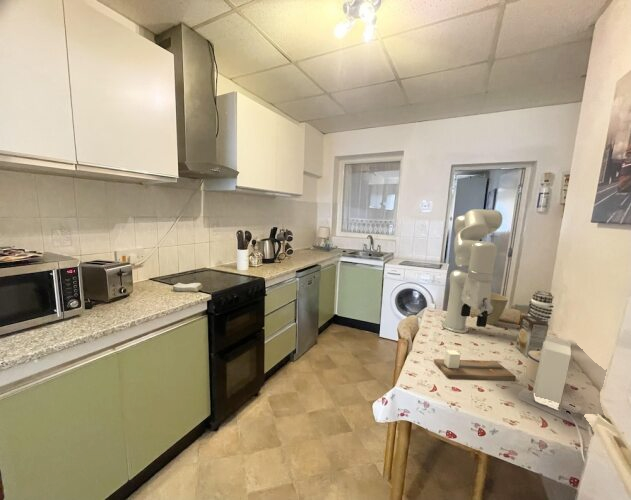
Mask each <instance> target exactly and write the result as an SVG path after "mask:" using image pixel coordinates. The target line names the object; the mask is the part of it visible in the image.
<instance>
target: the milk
mask: <svg viewBox="0 0 631 500" xmlns="http://www.w3.org/2000/svg"><path fill="white" fill-rule="evenodd" d="M571 346H572V342H571V341H569V340H565V339H561V338H556V337H553V336H548V335H546V339H545V341H544V342H543V347H542V352H541V356H540V361H539V366H538V371H537V376H536V381H535V382H534V387H533V392H534V393H535V396H536V397H540V398H544V399H548V400H551V401H554V402H557V403H559V404H560V405H561V401H562V397H563V392H564V388H565V383H566V379H567V375H568V371H569V370H568V369H569V365H570V361H571V356H572V351H571ZM533 392H532V393H533Z"/></svg>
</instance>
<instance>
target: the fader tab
mask: <svg viewBox="0 0 631 500" xmlns="http://www.w3.org/2000/svg"><path fill="white" fill-rule="evenodd" d="M444 359H445V360H444V364H445V365H446V366H447V367H448V368H459V362H460V360H461V354H460V352H458V350H456V349H455V350H453V349H452V350H451V349H446V350H445V353H444Z"/></svg>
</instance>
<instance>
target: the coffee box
mask: <svg viewBox="0 0 631 500" xmlns="http://www.w3.org/2000/svg"><path fill="white" fill-rule="evenodd" d="M519 322H520V323H519V328H518V332H517V337H516V342H515V349H517V350H518V351H519V352H520V353H521V354H522V355H523V356H524V357H525V358H528V352H529V351H541V350H542V347H543V342H544V341H545V339H546V336H548V335H547V334H548V331H549V326H550V325H549V323H548V324H547V323H545V322H543V321H542V320H540V319H539V318H537V317H532V316H528V315H521V317H520V321H519Z"/></svg>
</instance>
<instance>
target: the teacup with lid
mask: <svg viewBox="0 0 631 500" xmlns="http://www.w3.org/2000/svg"><path fill="white" fill-rule="evenodd" d="M541 352H542V350H541V351H529V352H528V357H526V358H527V360H526V364H525V369H524V376H525V377H526V378H527V379H528V380H529V381H531V382H533V383H535V381H536V376H537V371H538V366H539V361H540V356H541Z"/></svg>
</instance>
